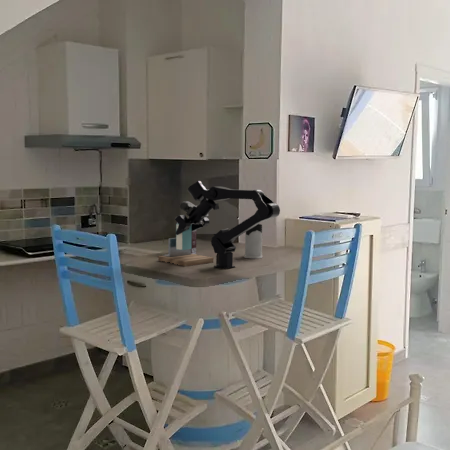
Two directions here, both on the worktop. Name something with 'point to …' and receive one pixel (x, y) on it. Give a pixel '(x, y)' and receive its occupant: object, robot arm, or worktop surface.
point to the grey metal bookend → (172, 249)
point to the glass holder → (253, 242)
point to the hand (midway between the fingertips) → (181, 233)
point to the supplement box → (193, 242)
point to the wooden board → (187, 259)
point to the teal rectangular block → (184, 239)
